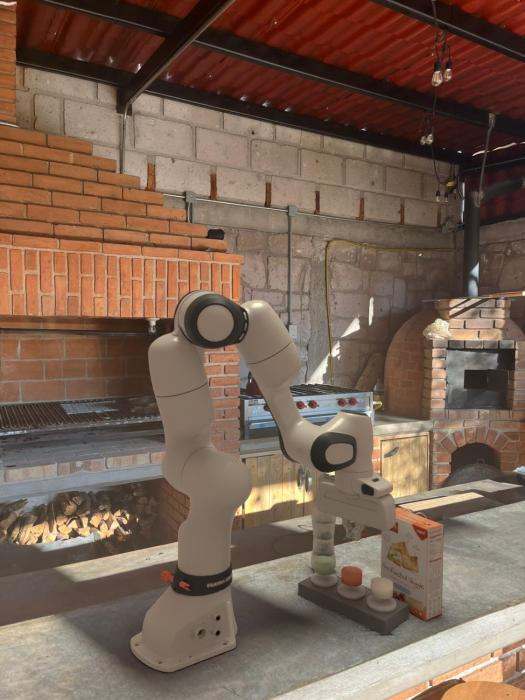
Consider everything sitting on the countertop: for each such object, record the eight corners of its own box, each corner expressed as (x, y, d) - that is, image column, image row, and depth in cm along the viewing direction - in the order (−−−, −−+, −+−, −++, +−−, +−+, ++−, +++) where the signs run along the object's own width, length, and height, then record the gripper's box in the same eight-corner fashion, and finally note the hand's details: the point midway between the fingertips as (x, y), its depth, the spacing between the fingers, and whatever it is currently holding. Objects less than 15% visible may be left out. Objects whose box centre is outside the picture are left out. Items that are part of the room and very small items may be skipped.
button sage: (326, 577, 126) (326, 566, 126) (310, 570, 129) (310, 560, 129) (338, 570, 130) (338, 560, 129) (322, 564, 133) (322, 554, 133)
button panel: (384, 635, 112) (385, 616, 112) (297, 595, 129) (298, 578, 129) (408, 617, 119) (409, 599, 119) (323, 581, 136) (323, 566, 136)
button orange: (354, 588, 120) (354, 577, 120) (337, 581, 124) (337, 570, 124) (366, 581, 124) (366, 570, 124) (349, 575, 127) (349, 564, 127)
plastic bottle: (337, 576, 139) (338, 500, 138) (311, 575, 139) (312, 499, 139) (334, 565, 146) (335, 492, 145) (309, 565, 146) (310, 492, 145)
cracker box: (378, 596, 129) (380, 510, 128) (396, 589, 132) (398, 506, 132) (424, 622, 117) (426, 528, 117) (443, 615, 120) (445, 523, 120)
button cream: (385, 601, 115) (385, 589, 115) (366, 593, 118) (366, 582, 118) (396, 593, 118) (397, 582, 118) (378, 586, 122) (378, 575, 122)
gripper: (310, 474, 128) (310, 530, 129) (384, 492, 114) (384, 555, 114) (326, 469, 133) (326, 523, 133) (399, 485, 118) (399, 547, 119)
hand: (353, 538), depth 124 cm, fingers closed
